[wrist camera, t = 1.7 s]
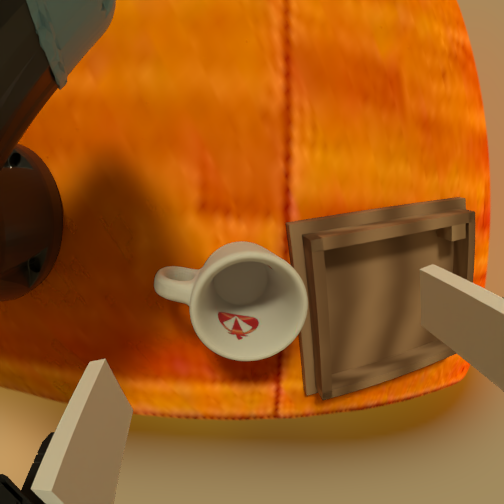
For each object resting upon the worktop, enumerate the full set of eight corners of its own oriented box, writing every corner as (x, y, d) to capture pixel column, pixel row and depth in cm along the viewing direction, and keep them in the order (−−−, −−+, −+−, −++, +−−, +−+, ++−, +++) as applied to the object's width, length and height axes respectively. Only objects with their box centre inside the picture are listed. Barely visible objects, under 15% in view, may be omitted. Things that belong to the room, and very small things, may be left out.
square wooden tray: (303, 389, 33) (313, 410, 29) (285, 222, 28) (296, 229, 25) (451, 341, 34) (468, 354, 31) (458, 197, 30) (480, 200, 26)
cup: (157, 304, 29) (141, 347, 21) (170, 217, 27) (155, 233, 19) (272, 322, 30) (292, 368, 23) (292, 240, 29) (322, 263, 21)
